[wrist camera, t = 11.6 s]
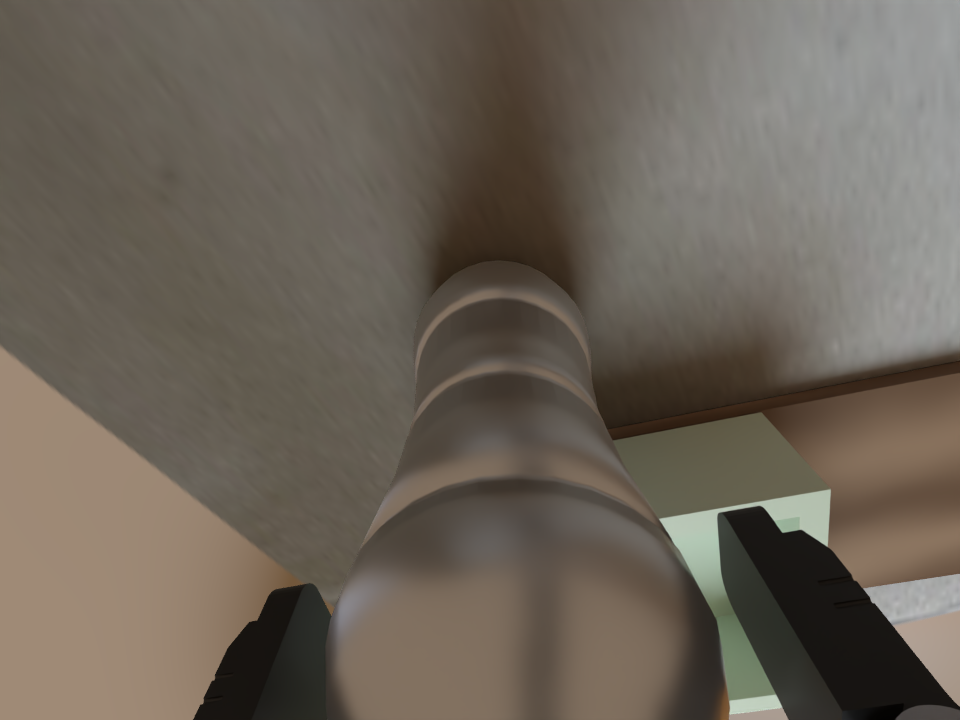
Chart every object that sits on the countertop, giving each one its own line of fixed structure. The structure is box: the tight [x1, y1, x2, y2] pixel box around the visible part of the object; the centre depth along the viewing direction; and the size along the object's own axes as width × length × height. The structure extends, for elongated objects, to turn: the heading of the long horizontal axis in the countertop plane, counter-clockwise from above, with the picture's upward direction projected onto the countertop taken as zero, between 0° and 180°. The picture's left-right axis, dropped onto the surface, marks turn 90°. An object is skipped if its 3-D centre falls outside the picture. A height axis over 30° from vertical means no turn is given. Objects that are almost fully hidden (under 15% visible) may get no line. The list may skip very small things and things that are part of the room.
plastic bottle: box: [325, 260, 730, 720], centre depth 13 cm, size 6×7×20 cm
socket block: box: [613, 412, 831, 715], centre depth 23 cm, size 12×12×5 cm
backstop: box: [607, 361, 960, 588], centre depth 21 cm, size 12×24×10 cm, turn 104°
